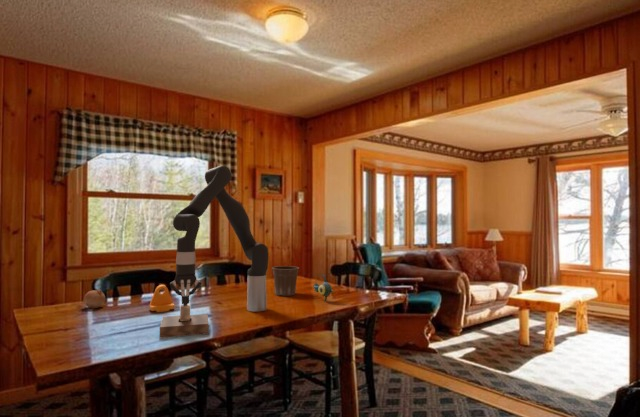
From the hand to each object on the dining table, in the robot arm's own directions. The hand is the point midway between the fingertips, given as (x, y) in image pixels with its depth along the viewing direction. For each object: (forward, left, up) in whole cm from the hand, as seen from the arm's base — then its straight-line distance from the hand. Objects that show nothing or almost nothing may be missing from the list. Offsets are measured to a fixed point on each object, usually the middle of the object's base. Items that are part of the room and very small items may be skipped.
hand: (185, 304), depth 161 cm
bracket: (+12, -39, -10) cm, 42 cm away
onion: (+45, -53, -10) cm, 70 cm away
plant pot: (-55, -61, -10) cm, 83 cm away
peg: (0, 0, -10) cm, 10 cm away
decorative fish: (-71, -37, -10) cm, 81 cm away
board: (0, 0, -10) cm, 10 cm away
